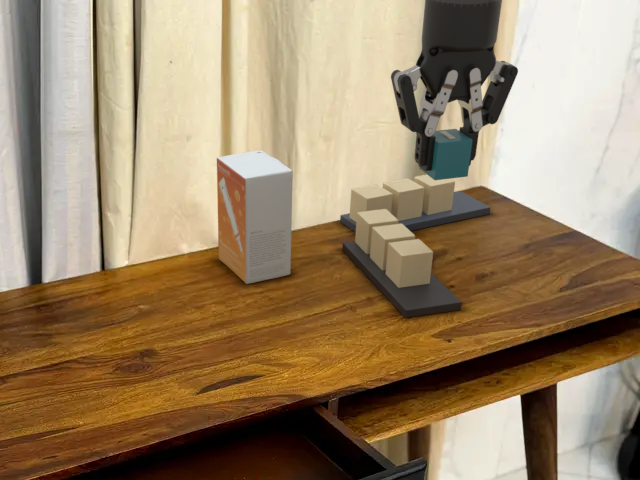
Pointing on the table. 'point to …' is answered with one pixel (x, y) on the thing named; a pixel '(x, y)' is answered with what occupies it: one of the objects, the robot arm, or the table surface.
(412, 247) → the near word
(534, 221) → the table surface
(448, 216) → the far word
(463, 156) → the teal marked cube
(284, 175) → the small box
